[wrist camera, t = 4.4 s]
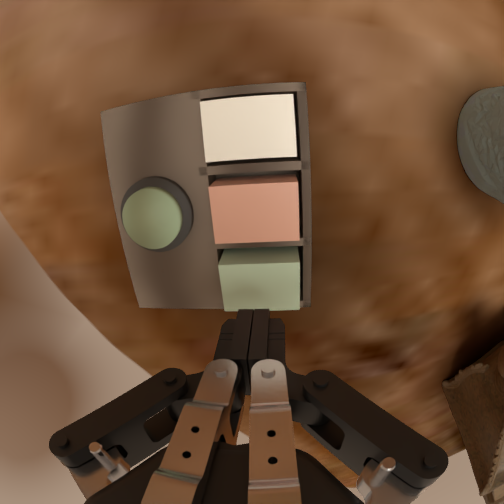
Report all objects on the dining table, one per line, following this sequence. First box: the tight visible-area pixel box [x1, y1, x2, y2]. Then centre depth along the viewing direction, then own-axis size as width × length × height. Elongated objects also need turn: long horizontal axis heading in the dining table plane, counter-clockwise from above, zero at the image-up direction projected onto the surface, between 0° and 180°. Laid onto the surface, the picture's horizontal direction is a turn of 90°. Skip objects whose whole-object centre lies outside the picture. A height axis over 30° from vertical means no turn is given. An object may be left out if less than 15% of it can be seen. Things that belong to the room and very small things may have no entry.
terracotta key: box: [208, 174, 300, 244], centre depth 17 cm, size 5×3×2 cm
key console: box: [101, 82, 312, 309], centre depth 18 cm, size 12×14×4 cm
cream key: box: [200, 94, 297, 162], centre depth 15 cm, size 5×3×2 cm
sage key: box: [218, 246, 300, 311], centre depth 19 cm, size 5×3×2 cm
